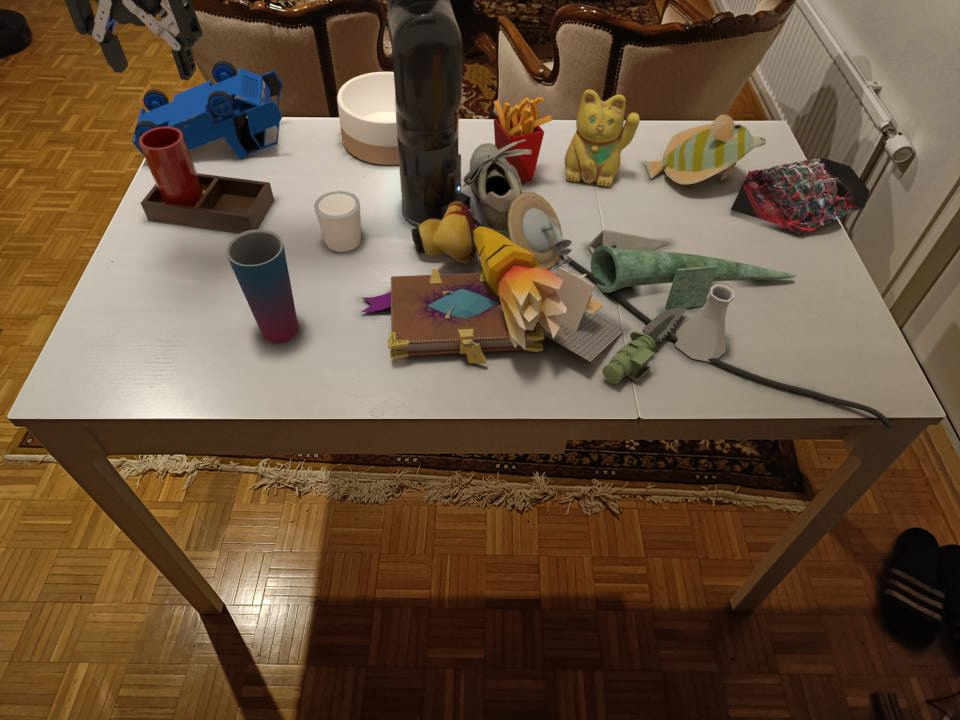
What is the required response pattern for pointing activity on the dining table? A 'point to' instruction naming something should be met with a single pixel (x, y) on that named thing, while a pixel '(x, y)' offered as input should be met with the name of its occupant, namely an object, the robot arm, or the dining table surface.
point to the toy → (448, 234)
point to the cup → (265, 282)
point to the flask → (706, 327)
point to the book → (447, 317)
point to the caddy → (216, 205)
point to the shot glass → (339, 220)
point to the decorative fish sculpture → (705, 151)
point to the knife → (641, 348)
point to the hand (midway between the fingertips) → (154, 73)
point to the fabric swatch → (802, 194)
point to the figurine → (599, 139)
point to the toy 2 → (537, 230)
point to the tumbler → (171, 166)
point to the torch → (519, 285)
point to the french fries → (520, 134)
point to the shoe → (495, 183)
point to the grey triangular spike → (624, 241)
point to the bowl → (369, 118)
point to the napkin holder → (581, 318)
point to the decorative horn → (671, 273)
